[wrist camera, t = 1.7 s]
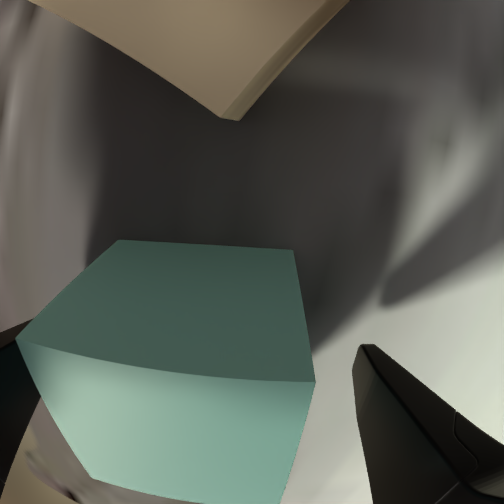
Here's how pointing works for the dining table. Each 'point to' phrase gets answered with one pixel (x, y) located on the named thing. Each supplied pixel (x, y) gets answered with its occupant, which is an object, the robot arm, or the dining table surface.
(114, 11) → the beech block
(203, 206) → the dining table surface
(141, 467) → the teal cube
